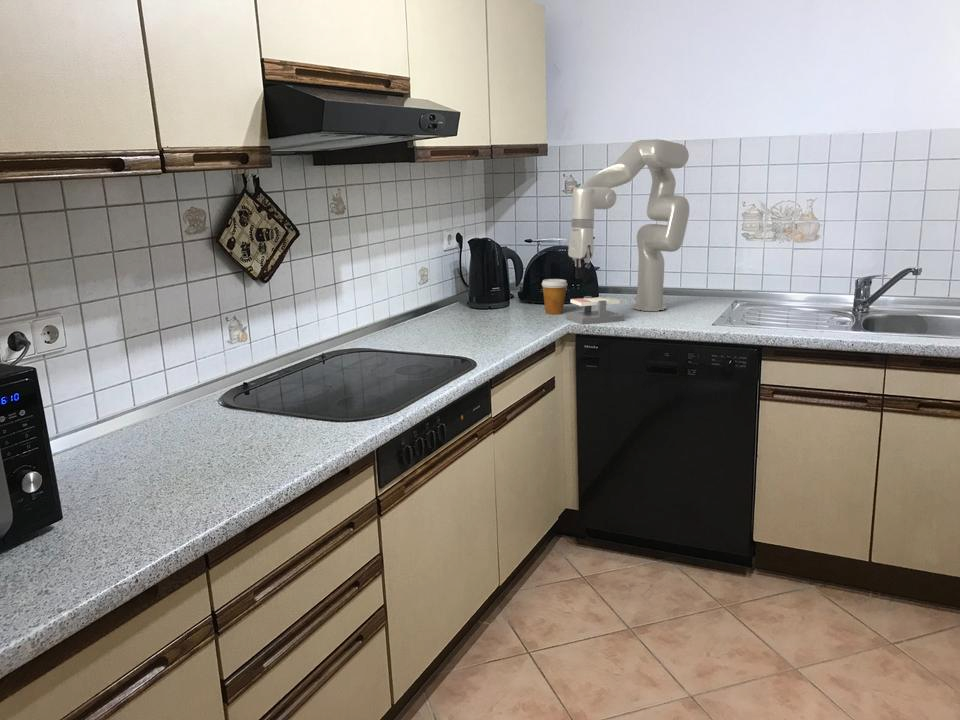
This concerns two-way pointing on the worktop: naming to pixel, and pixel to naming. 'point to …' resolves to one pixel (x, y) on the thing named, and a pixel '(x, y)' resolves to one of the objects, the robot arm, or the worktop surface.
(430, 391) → the worktop surface
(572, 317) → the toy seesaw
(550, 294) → the disposable coffee cup
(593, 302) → the breaker rocker
